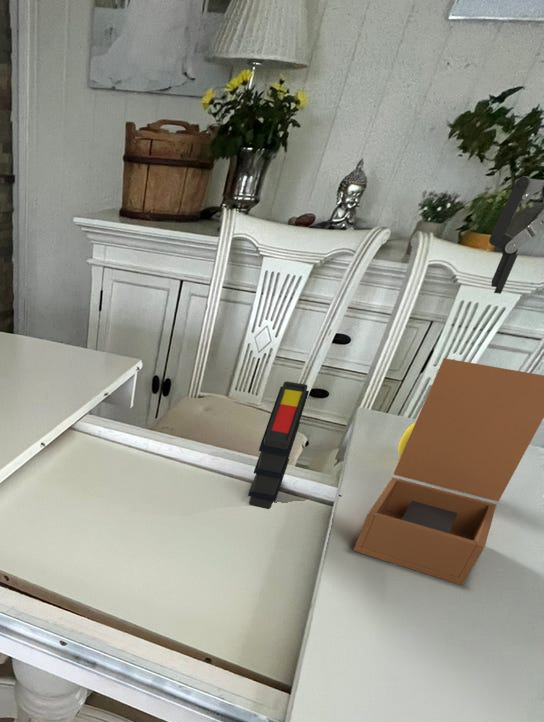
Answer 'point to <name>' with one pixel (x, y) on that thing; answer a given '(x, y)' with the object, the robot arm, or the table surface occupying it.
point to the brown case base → (426, 531)
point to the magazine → (277, 444)
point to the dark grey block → (430, 516)
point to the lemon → (405, 439)
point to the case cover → (473, 428)
